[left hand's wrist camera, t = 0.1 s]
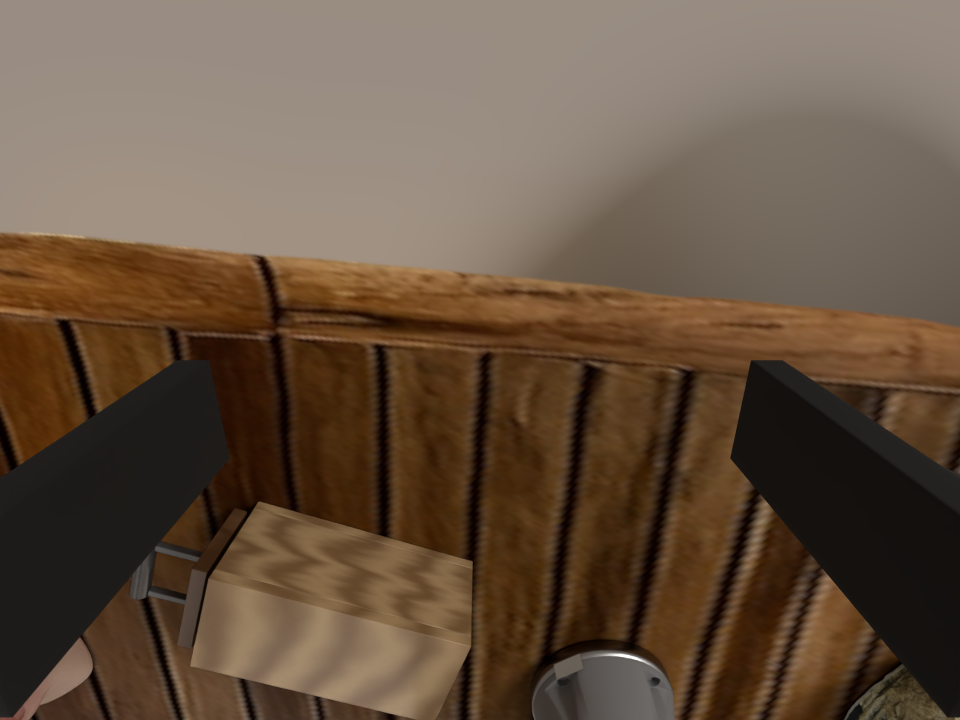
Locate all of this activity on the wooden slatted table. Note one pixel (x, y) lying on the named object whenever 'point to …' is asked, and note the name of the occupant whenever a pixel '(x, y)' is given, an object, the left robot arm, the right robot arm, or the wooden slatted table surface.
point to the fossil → (896, 700)
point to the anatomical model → (59, 680)
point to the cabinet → (337, 614)
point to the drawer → (198, 578)
